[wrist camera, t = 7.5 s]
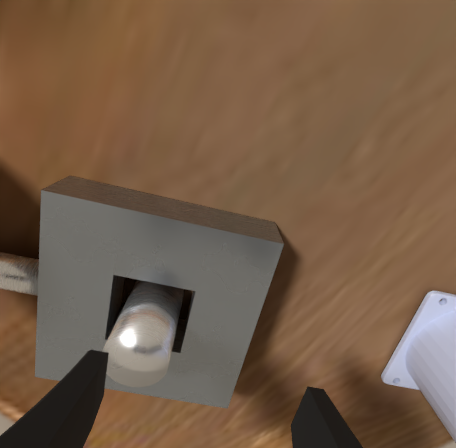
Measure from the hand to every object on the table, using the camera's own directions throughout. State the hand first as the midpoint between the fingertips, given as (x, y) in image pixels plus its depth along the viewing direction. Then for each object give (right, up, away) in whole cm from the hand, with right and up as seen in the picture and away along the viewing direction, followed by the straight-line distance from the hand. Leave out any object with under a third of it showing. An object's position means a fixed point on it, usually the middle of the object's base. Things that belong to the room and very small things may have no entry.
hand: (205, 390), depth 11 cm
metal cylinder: (-4, +2, +9) cm, 10 cm away
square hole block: (-7, +3, +9) cm, 12 cm away
